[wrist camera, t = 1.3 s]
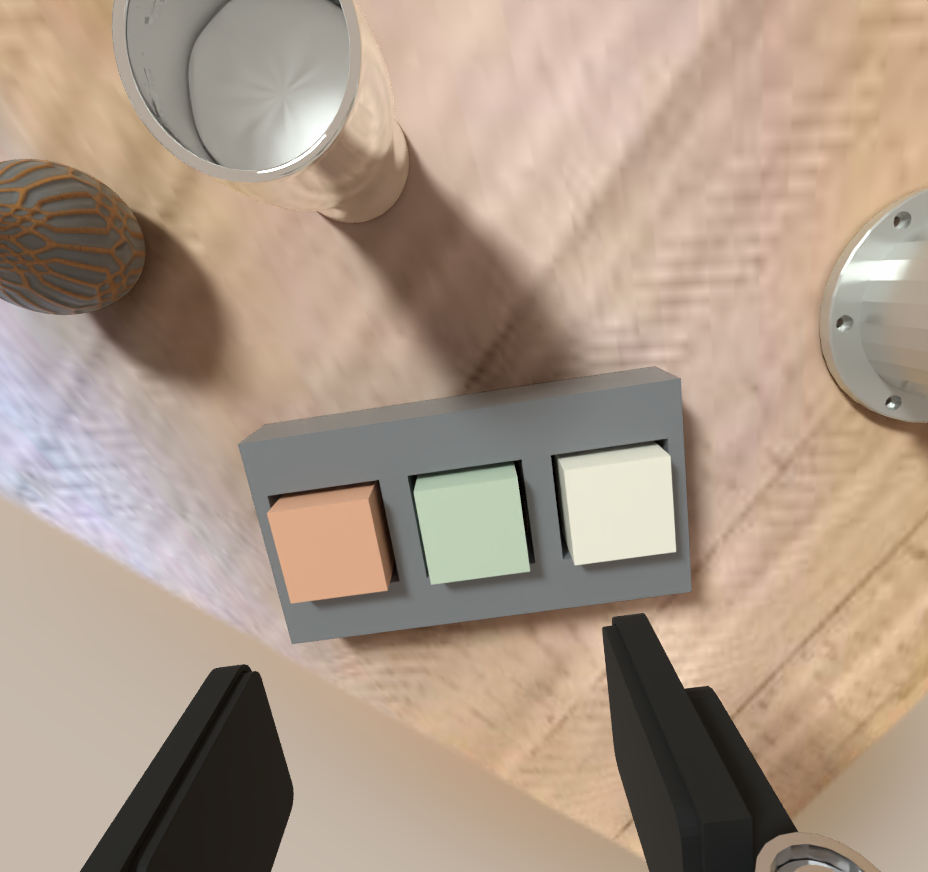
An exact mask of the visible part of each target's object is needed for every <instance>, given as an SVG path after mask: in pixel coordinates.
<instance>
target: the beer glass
mask: <svg viewBox="0 0 928 872" xmlns="http://www.w3.org/2000/svg"><path fill="white" fill-rule="evenodd" d="M112 38H113V47H114V53H115V59H116V63H117V67H118V71H119V74H120V77H121V80H122V83H123V86H124V88H125V91H126V93H127V95H128V97H129V99H130V101H131V103H132V105H133V107H134V109H135V111H136V112H137V114H138V115H139V117H140V119H141V120H142V121H143V123H144V124H145V126H146V127H147V128H148V130H149V131H150V132H151V133H152V134H153V136H154V137H155V138H156V139H157V140H158V141H159V142H160V143H161V144H162V145H163V146H164V147H165V148H166V149H167V150H168V151H170V152H171V153H172V154H173V155H175V156H176V157H177V158H179V159H180V160H181V161H183V162H184V163H186V164H187V165H189V166H191V167H193V168H195V169H196V170H198V171H200V172H203V173H205V174H207V175H208V176H210V177H212V178H213V179H215V180H217V181H218V182H220V183H222V184H223V185H225V186H227V187H228V188H230V189H232V190H234V191H236V192H238V193H240V194H242V195H245V196H247V197H249V198H251V199H253V200H256V201H258V202H261V203H264V204H267V205H271V206H274V207H278V208H282V209H286V210H292V211H318V212H320V213H321V214H323V215H324V216H326V217H328V218H330V219H333V220H336V221H339V222H344V223H359V222H365V221H369V220H372V219H374V218H377V217H379V216H380V215H382V214H383V213H385V212H386V211H387V210H388V209H390V208H391V207H392V206H393V204H394V203H395V202H396V201H397V199H398V198H399V196H400V195H401V193H402V191H403V189H404V186H405V183H406V180H407V176H408V170H409V153H408V147H407V143H406V139H405V137H404V134H403V132H402V130H401V128H400V126H399V124H398V123H397V121H396V120H395V118H394V98H393V91H392V85H391V81H390V77H389V74H388V70H387V67H386V63H385V60H384V57H383V54H382V51H381V49H380V46H379V44H378V42H377V40H376V38H375V35H374V33H373V31H372V29H371V27H370V25H369V23H368V21H367V19H366V17H365V15H364V13H363V12H362V10H361V8H360V7H359V5H358V3H357V2H356V0H114V3H113V12H112Z"/></svg>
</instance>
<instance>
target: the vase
mask: <svg viewBox="0 0 928 872" xmlns="http://www.w3.org/2000/svg"><path fill="white" fill-rule="evenodd" d="M144 263H145V241H144V237H143V233H142V230H141V227H140V225H139V223H138V221H137V219H136V217H135V216H134V214H133V213H132V211H131V210H130V208H129V207H128V206H127V204H126V203H125V202H124V201H123V200H122V199H121V198H120V197H119V196H118V195H117V194H116V193H115V192H114V191H113V190H112V189H110V188H109V187H108V186H106V185H105V184H104V183H102V182H101V181H99V180H97V179H96V178H94V177H92V176H91V175H89V174H87V173H84V172H82V171H80V170H77V169H75V168H72V167H69V166H66V165H63V164H59V163H55V162H51V161H46V160H37V159H19V160H9V161H3V162H0V298H1V299H3V300H5V301H7V302H9V303H12V304H14V305H16V306H19V307H22V308H25V309H28V310H32V311H36V312H41V313H46V314H55V315H73V314H82V313H88V312H92V311H96V310H100V309H103V308H105V307H108V306H109V305H111V304H113V303H115V302H117V301H118V300H120V299H121V298H122V297H124V296H125V295H126V294H127V293H128V292H129V291H130V290H131V289H132V288H133V287H134V285H135V284H136V283H137V281H138V279H139V278H140V275H141V273H142V271H143V267H144Z"/></svg>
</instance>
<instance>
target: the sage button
mask: <svg viewBox="0 0 928 872" xmlns="http://www.w3.org/2000/svg"><path fill="white" fill-rule="evenodd" d="M414 497H415V503H416V508H417V513H418V518H419V524H420V529H421V534H422V540H423V545H424V550H425V555H426V561H427V566H428V571H429V577H430V582H431V585H433V584H440V583H448V582H455V581H463V580H470V579H478V578H485V577H493V576H500V575H507V574H515V573H522V572H530V566H529V559H528V551H527V544H526V537H525V529H524V522H523V515H522V507H521V500H520V493H519V485H518V478H517V474H516V470H515V466H514V462H513V461H507V462H500V463H493V464H486V465H479V466H472V467H465V468H458V469H451V470H444V471H437V472H430V473H423V474H418V477H417V481H416V485H415V489H414Z"/></svg>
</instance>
